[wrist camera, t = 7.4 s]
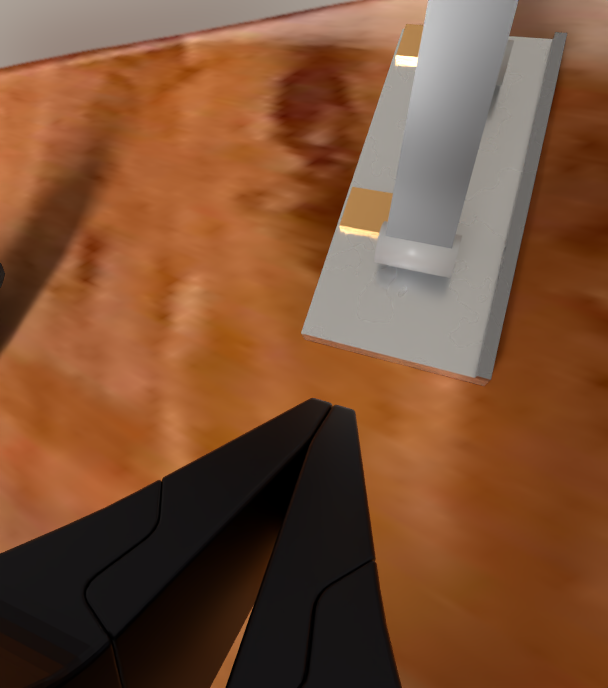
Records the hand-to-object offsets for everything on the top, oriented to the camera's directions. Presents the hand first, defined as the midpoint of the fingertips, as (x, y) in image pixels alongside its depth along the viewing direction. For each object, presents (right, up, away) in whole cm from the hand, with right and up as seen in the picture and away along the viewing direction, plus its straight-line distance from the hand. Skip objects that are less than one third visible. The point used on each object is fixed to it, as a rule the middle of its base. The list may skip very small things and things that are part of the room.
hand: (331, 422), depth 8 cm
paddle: (+5, +6, +13) cm, 15 cm away
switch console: (+7, +10, +16) cm, 20 cm away
